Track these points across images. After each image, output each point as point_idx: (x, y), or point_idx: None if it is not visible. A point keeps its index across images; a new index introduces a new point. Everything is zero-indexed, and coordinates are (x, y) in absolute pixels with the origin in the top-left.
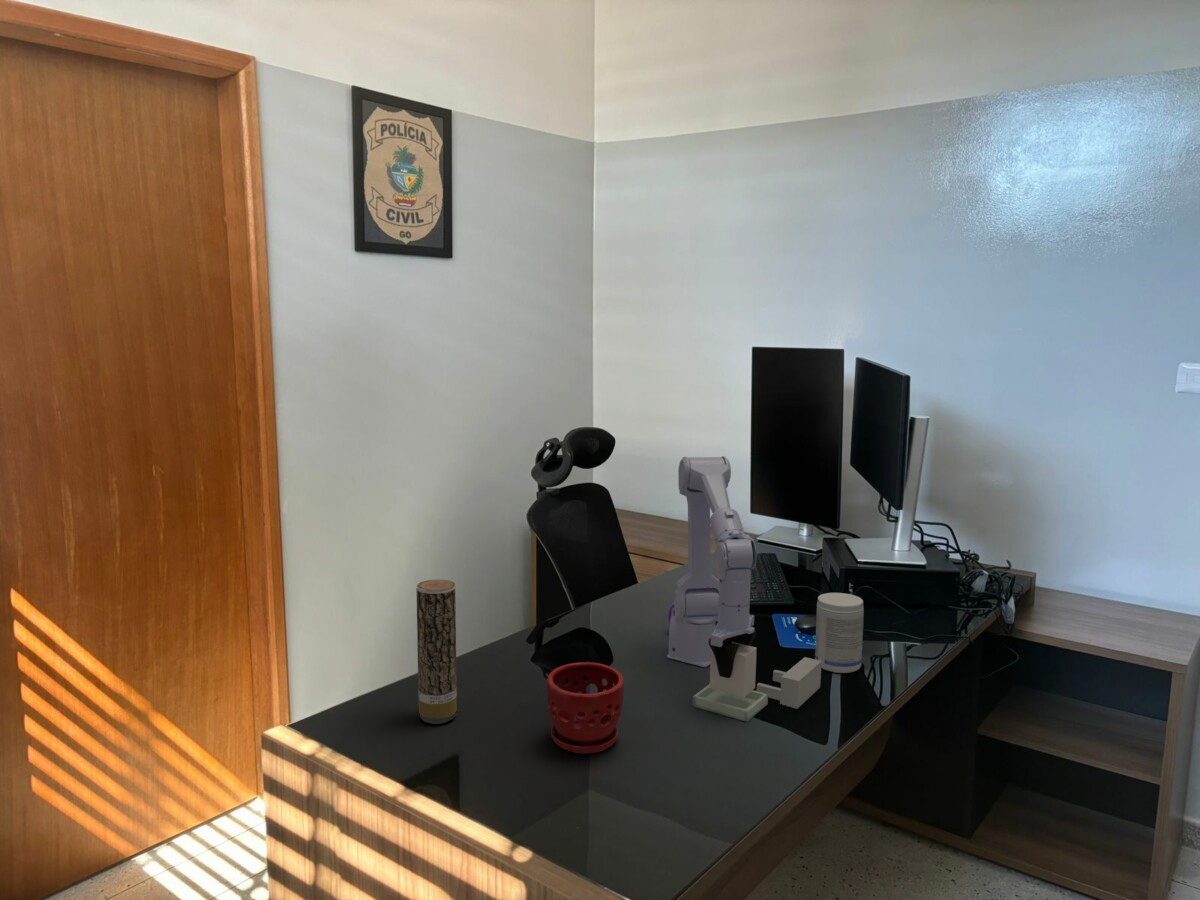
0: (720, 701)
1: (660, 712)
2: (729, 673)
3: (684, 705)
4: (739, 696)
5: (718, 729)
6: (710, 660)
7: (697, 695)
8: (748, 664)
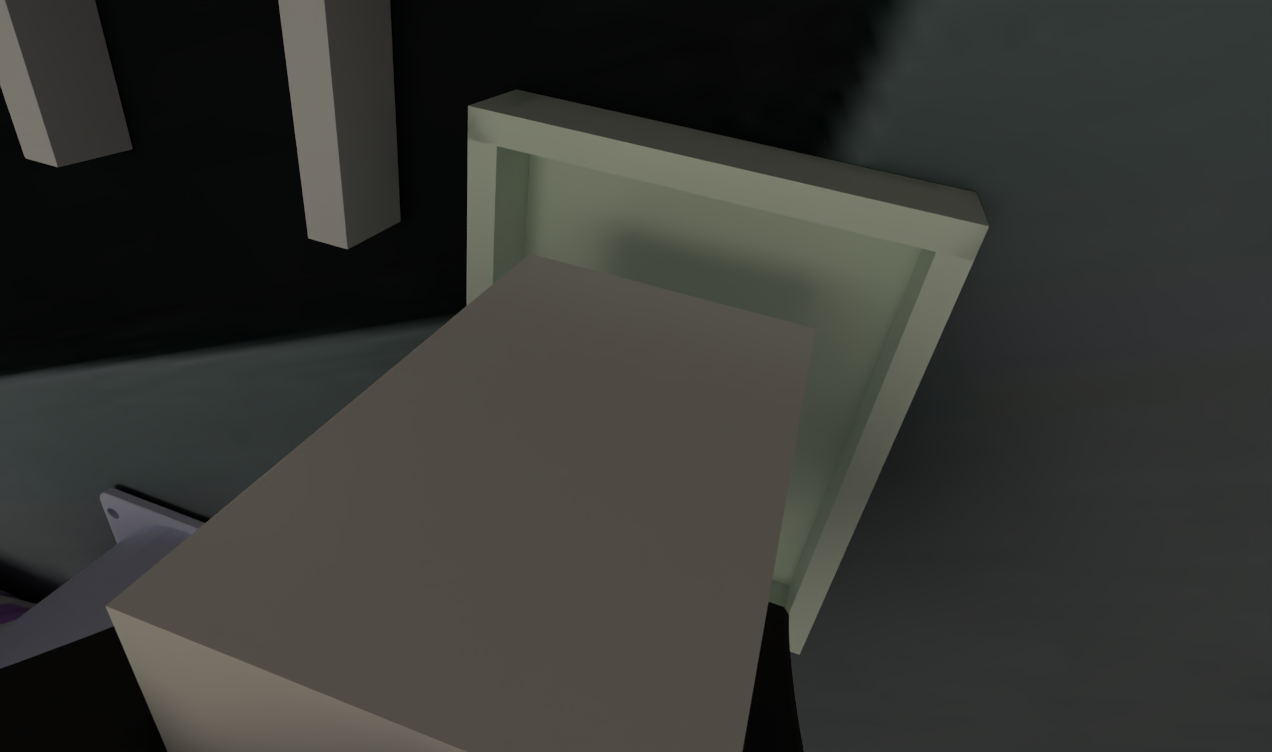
0: None
1: (970, 744)
2: (790, 665)
3: (809, 632)
4: None
5: (1212, 409)
6: None
7: None
8: (603, 551)
